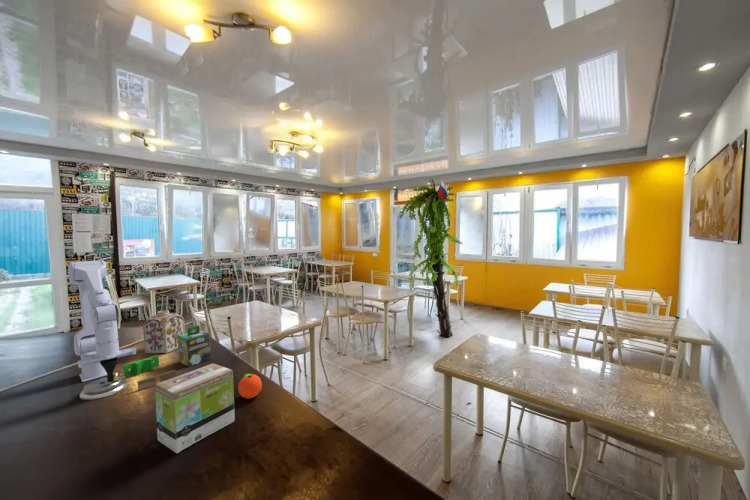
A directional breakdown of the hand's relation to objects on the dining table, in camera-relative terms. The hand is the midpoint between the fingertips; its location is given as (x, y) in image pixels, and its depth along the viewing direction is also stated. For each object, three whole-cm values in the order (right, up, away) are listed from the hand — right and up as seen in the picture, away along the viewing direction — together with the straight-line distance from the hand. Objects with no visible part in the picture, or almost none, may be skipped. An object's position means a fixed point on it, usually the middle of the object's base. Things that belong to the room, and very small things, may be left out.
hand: (110, 381), depth 103 cm
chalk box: (+14, -3, +25) cm, 29 cm away
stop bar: (+12, -3, +5) cm, 14 cm away
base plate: (-4, -4, +2) cm, 6 cm away
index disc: (-4, -3, +2) cm, 5 cm away
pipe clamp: (-1, -4, +16) cm, 17 cm away
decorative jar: (-9, -3, +41) cm, 42 cm away
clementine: (+49, -2, -6) cm, 50 cm away
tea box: (+43, -4, -23) cm, 48 cm away
